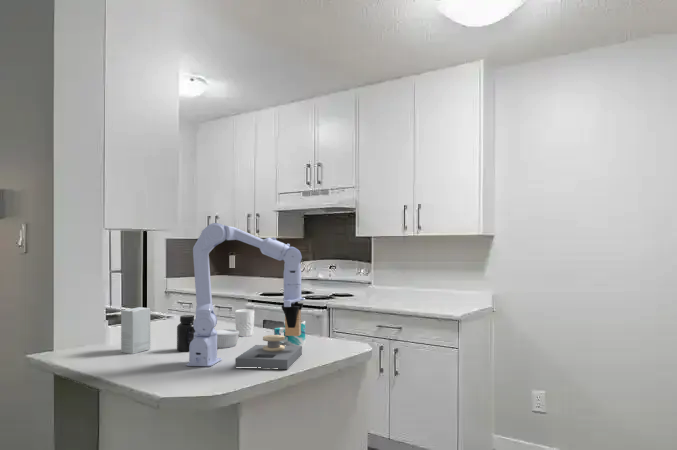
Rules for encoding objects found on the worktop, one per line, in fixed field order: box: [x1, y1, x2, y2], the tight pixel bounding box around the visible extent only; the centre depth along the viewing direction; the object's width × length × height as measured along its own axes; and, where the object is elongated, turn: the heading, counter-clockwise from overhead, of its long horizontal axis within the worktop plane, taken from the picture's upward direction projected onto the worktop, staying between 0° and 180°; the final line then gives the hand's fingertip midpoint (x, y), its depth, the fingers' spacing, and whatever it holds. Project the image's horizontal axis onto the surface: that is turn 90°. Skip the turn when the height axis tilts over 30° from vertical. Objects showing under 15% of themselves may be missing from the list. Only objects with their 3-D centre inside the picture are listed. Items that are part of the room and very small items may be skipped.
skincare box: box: [120, 306, 151, 355], centre depth 181 cm, size 8×6×15 cm
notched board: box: [235, 334, 303, 370], centre depth 164 cm, size 20×16×7 cm
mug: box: [273, 319, 307, 347], centre depth 190 cm, size 8×12×8 cm
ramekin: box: [215, 328, 239, 349], centre depth 190 cm, size 11×11×5 cm
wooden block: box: [284, 309, 302, 336], centre depth 167 cm, size 3×4×8 cm, turn 81°
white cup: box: [234, 308, 255, 338], centre depth 210 cm, size 8×8×10 cm
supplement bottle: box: [176, 314, 195, 353], centre depth 182 cm, size 7×7×12 cm
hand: (292, 326), depth 167 cm, fingers closed on wooden block, 3 cm apart
